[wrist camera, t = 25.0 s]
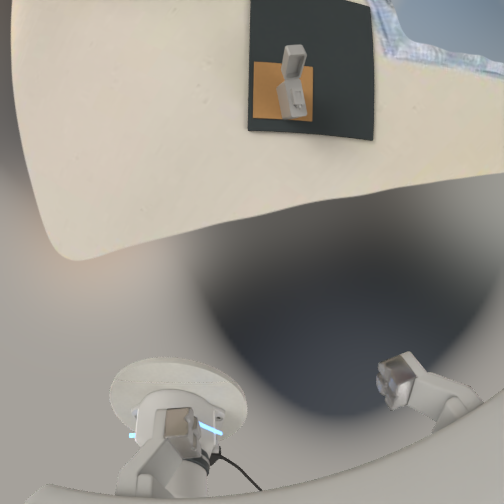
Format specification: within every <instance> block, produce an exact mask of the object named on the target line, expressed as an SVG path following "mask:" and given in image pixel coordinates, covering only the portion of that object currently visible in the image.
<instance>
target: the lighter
mask: <svg viewBox="0 0 504 504" xmlns="http://www.w3.org/2000/svg"><path fill="white" fill-rule="evenodd" d="M306 57H307V54H306V52H305V49H304V47H303V45H287V46H285V50H284V55H283V61H282V66H281V72H282V74H283V77H284V79H285V81H284V82H282V83H281V84H280V85H279V86H278V87H277V88H276V90H277V95H278V100H279V105H280V110H281V115H282V119H283V120H288V119H295V118H299V117H303V116H306V115H307V109H306V104H305V99H304V94H303V89H302V84H301V80H300V79H299V78H301V74H302V71H303V67H304V64H305V60H306Z"/></svg>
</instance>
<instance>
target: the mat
mask: <svg viewBox="0 0 504 504" xmlns="http://www.w3.org/2000/svg"><path fill="white" fill-rule="evenodd" d="M287 45H303V47H304V49H305V52H306V54H307V57H306V60H305V64H304V67H303V71H302V74H301V78H299V79H300V80H301V84H302V89H303V94H304V99H305V104H306V109H307V115H306V116H303V117H299V118H295V119H288V120H283V119H282V115H281V110H280V105H279V100H278V95H277V90H276V88H277V87H278V86H279V85H280V84H281V83H282V82H284V81H285V79H284V77H283V74H282V72H281V66H282V61H283V55H284V50H285V46H287ZM373 129H374V59H373V39H372V25H371V14H370V7H368V6H365V5H361V4H358V3H354V2H350V1H346V0H251V10H250V50H249V96H248V131H274V132H293V133H307V134H319V135H330V136H340V137H348V138H357V139H364V140H371V141H373Z"/></svg>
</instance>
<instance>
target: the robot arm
mask: <svg viewBox="0 0 504 504" xmlns="http://www.w3.org/2000/svg"><path fill="white" fill-rule="evenodd" d="M378 370H379V371H380V372H379V373H378V374H377V377H376V383H377V387H378V390H379V392H380V394H382V395H384V396H386V398H385V402H386V403H387V405H388V407H389V408H390V410H391V411H393V410H395V409H398V408H400V407H403V406H405V405H408V406H409V407H411V408H412V409H414V410H416V411H418V412H420V413H421V414H423V415H425V416H427V417H429V418H431V419H432V420H434V421H436V425H435V426H434V428H433V431H432V434H431V435H429V436H427V437H425V438H423V439H421V440H419V441H417V442H415V443H413V444H411V445H409V446H407V447H404V448H402V449H400V450H398V451H396V452H393V453H391V454H388V455H386V456H383V457H381V458H379V459H376V460H373V461H371V462H368V463H365V464H363V465H360V466H357V467H354V468H351V469H348V470H345V471H342V472H339V473H336V474H332V475H329V476H325V477H322V478H318V479H315V480H311V481H307V482H303V483H299V484H294V485H290V486H285V487H280V488H275V489H269V490H264V491H263V490H262V489H261V488H260V487H258V485H256V483H255V482H254V481H253V480H252V479H251V478H250V477H249V476H248V475H247V474H246V473H245V472H244V471H243V470H242V469H241V468H240V467H239V466H237V465H236V464H235V463H233V462H232V461H230V460H228V459H227V458H225V457H223V456H222V455H221V448H220V446H219V443H218V440H219V436H220V435H222V432H221V429H222V425H223V421H224V418H225V410H224V409H222V408H219V407H216V406H213V405H211V404H210V403H209V402H207V401H206V400H205V399H203V398H202V397H200V396H198V395H196V394H193V393H190V392H186V391H182V390H160V391H156V392H153V393H151V394H149V395H147V396H146V397H145V398H144V399H143V401H142V402H141V403H140V404H138V405H136V406H134V407H132V409H131V414H132V415H133V417H134V418H135V419H136V430H135V433H130V434H129V437H130V438H135V441H136V442H137V444H138V445H139V446H140V447H141V448H140V449H139V450H138V451H137V453H136V454H135V455H134V456H133V457H132V458H131V459H130V460H129V461H128V462H127V464H126V465H125V466H124V467H123V468H122V469H121V470H120V471H119V473H118V479H117V485H116V492H115V495H108V494H101V493H94V492H88V491H82V490H76V489H71V488H66V487H62V486H57V485H53V484H47V485H45V486H43V487H42V488H40V489H39V490H38V491H36V492H35V493H34V494H32V495H31V496H30V497H29V498H28V499H27V500H26V501H25V503H24V504H504V389H502V390H501V391H500V392H498V393H497V394H496V395H494V396H493V397H492V398H490V399H489V400H487V401H486V402H485V403H484V402H483V401H482V400H481V399H480V397H479V396H478V395H477V394H476V392H475V391H474V390H473V389H472V388H471V386H468V385H465V384H462V383H459V382H457V381H454V380H451V379H448V378H445V377H443V376H440V375H437V374H434V373H432V372H429V373H427V372H426V371H425V370H424V368H423V367H422V365H421V364H420V363H419V362H418V361H417V359H416V358H415V357H414V356H413V355H412V353H411V352H409V351H408V352H406V353H403V354H400V355H397V356H395V357H392V358H390V359H387V360H385V361H382V362H380V363H379V364H378ZM218 459H223V460H225V461H227V462H228V463H230V464H232V465H233V466H235V467H236V468H237V469H238V470H240V471H241V472H242V473H243V475H244V476H245V477H247V479H248V480H249V481H250V482H251V483H252V484H253V485H254V486H255V487H256V488H257V489H258V490H260V491H258V492H251V493H244V494H236V495H226V496H216V497H208V488H207V476H208V474H209V469H210V466H211V465H213V464H214V463H215V462H216V461H217V460H218Z"/></svg>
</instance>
